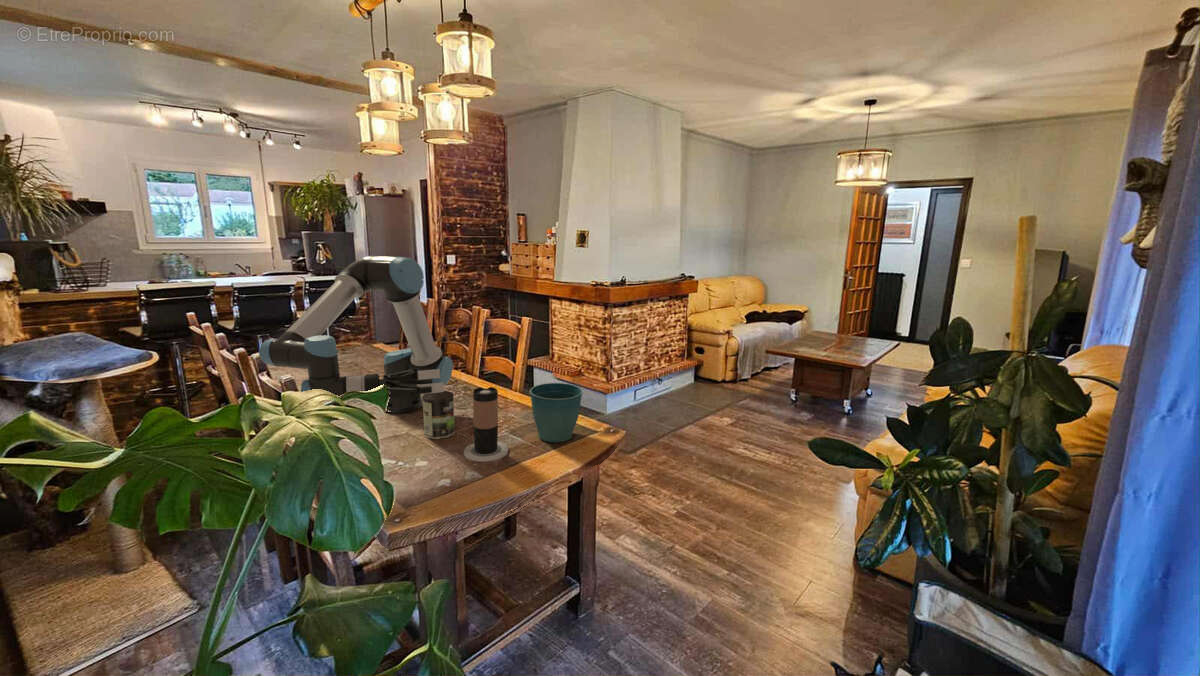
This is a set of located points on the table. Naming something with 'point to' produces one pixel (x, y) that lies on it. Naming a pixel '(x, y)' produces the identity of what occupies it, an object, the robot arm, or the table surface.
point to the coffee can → (438, 414)
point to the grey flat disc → (498, 454)
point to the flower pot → (555, 410)
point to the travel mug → (485, 420)
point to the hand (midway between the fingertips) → (441, 380)
